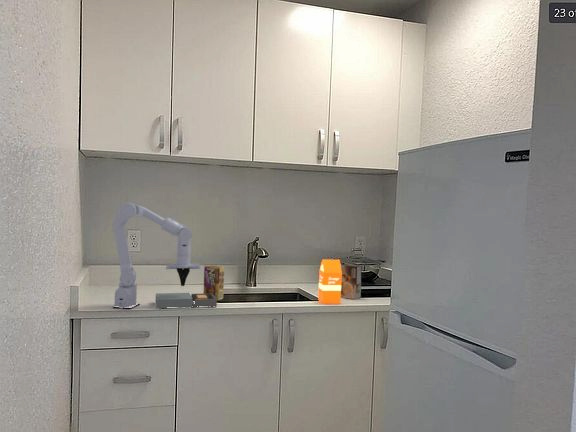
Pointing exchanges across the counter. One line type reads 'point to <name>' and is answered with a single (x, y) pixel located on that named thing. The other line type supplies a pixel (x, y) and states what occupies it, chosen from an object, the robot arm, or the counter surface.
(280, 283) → the counter surface
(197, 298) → the orange block
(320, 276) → the orange juice
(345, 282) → the coffee box
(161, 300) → the slate board
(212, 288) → the candy box
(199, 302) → the tray
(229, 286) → the counter surface
